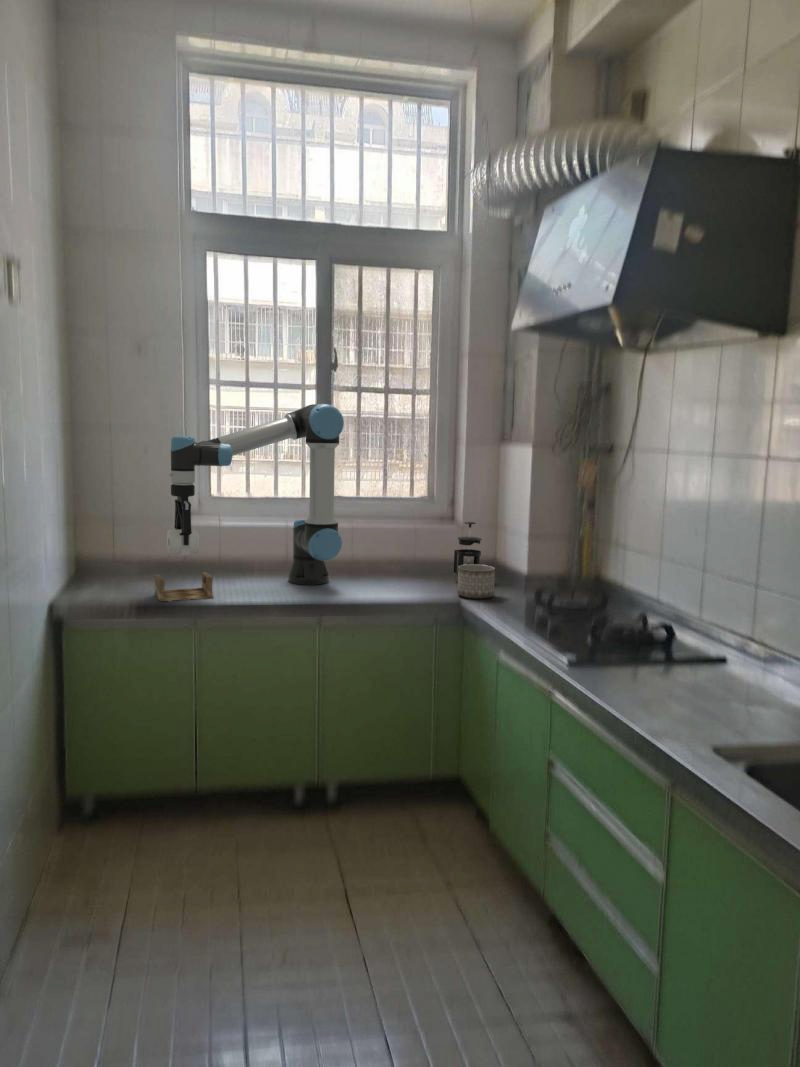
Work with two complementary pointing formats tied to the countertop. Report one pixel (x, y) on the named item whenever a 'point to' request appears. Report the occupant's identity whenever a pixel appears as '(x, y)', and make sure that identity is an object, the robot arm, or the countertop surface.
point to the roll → (175, 541)
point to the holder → (184, 590)
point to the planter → (476, 580)
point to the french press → (466, 551)
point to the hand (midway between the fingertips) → (182, 552)
